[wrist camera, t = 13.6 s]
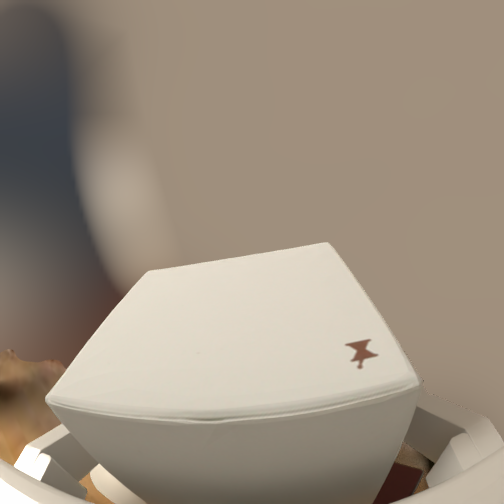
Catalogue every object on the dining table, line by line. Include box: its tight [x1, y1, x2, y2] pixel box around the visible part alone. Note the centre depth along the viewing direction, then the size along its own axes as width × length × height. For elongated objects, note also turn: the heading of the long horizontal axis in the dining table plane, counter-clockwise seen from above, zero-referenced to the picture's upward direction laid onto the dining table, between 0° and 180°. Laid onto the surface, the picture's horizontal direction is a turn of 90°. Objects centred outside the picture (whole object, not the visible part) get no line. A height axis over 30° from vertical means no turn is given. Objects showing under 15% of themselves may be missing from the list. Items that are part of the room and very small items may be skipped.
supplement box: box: [45, 243, 424, 504], centre depth 9 cm, size 7×7×13 cm
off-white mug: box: [90, 464, 147, 504], centre depth 20 cm, size 10×8×9 cm
